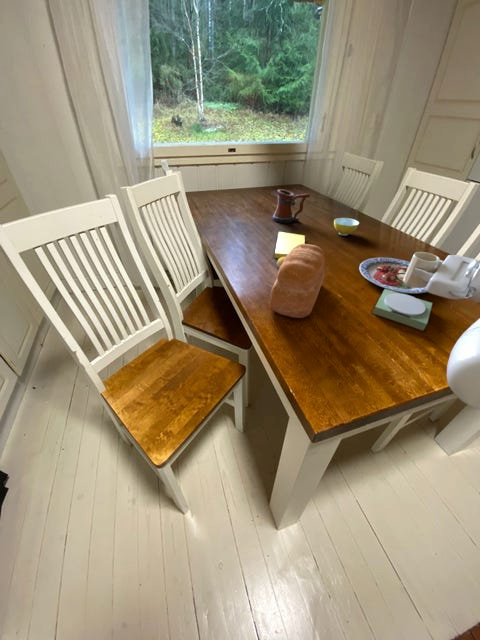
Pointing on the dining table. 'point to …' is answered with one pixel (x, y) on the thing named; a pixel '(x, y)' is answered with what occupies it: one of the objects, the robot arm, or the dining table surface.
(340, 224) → the bowl
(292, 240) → the pale yellow flat slab
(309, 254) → the bread
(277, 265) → the bread roll
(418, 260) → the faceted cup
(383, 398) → the dining table surface
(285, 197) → the mug
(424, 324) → the scale
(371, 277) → the ceramic plate
